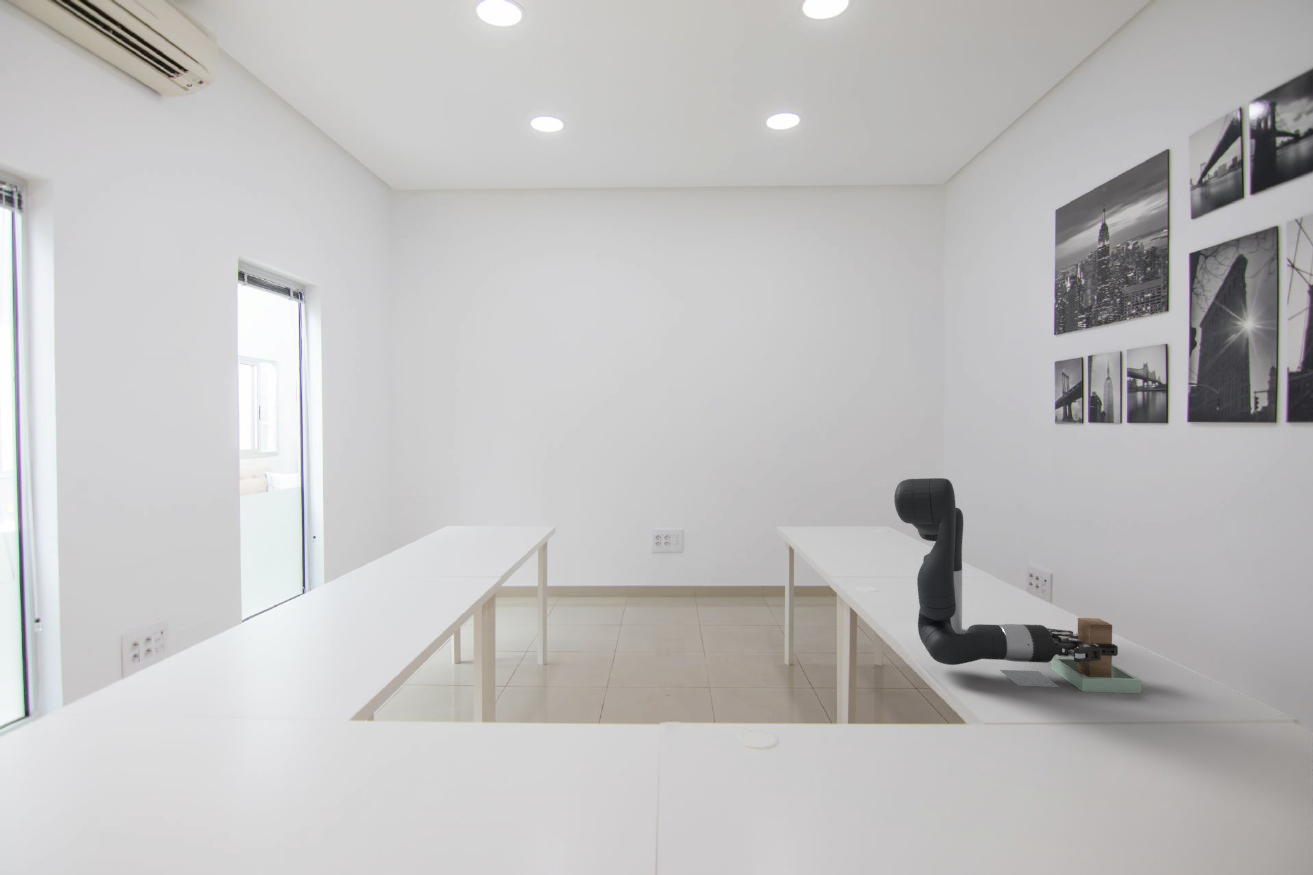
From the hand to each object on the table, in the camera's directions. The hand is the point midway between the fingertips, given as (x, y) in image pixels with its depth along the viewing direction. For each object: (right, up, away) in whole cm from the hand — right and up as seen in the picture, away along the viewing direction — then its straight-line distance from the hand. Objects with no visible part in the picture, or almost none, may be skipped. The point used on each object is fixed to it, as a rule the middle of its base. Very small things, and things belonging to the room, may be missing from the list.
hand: (1108, 645), depth 124 cm
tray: (-3, -8, 0) cm, 9 cm away
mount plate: (-16, -8, +2) cm, 18 cm away
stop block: (-3, -6, 0) cm, 7 cm away
